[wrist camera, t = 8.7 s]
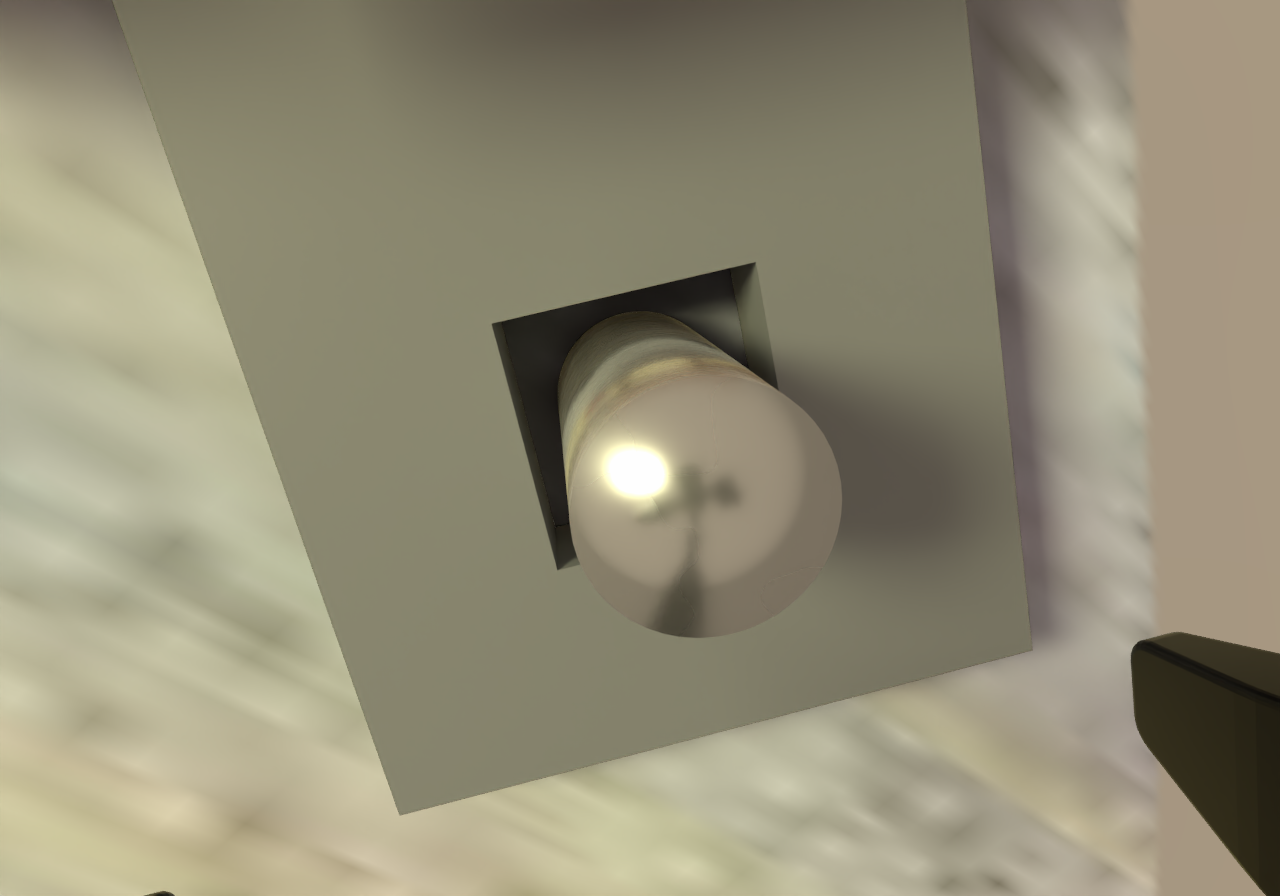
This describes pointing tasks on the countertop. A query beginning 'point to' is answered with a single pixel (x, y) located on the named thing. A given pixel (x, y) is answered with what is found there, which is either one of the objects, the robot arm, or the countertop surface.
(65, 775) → the countertop surface
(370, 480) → the socket board
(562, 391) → the peg
